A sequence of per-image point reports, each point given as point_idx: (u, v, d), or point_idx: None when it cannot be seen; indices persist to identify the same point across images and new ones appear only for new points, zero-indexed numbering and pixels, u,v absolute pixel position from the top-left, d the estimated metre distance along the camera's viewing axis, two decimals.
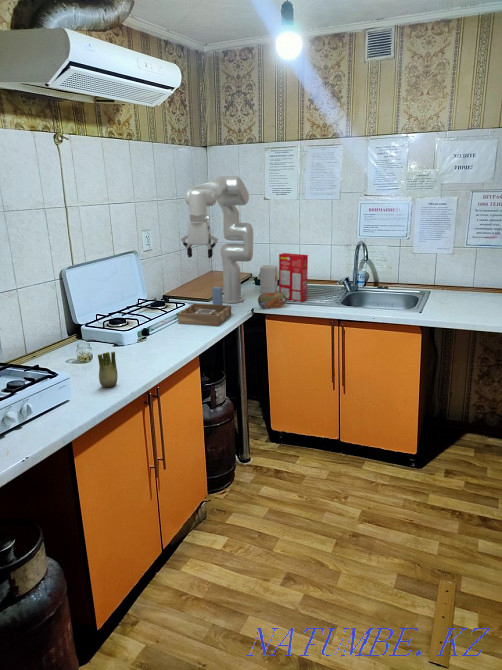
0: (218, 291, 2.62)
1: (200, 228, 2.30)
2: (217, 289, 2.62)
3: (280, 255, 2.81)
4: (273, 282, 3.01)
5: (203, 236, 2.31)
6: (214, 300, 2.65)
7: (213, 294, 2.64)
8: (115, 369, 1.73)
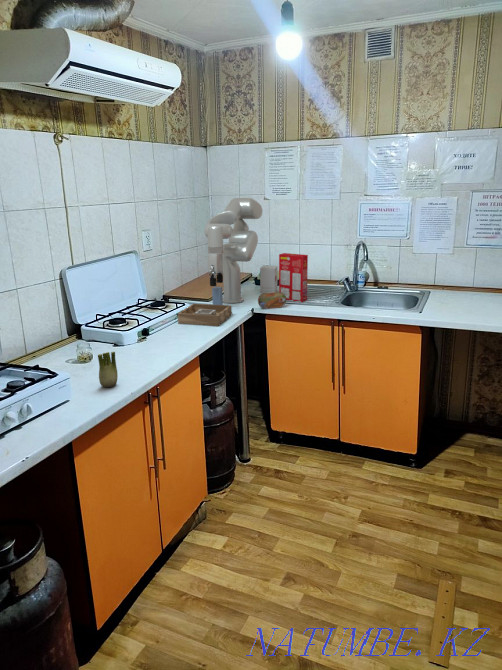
0: (218, 291, 2.62)
1: (221, 257, 2.60)
2: (217, 289, 2.62)
3: (280, 255, 2.81)
4: (273, 282, 3.01)
5: (222, 264, 2.63)
6: (214, 300, 2.65)
7: (213, 294, 2.64)
8: (115, 369, 1.73)
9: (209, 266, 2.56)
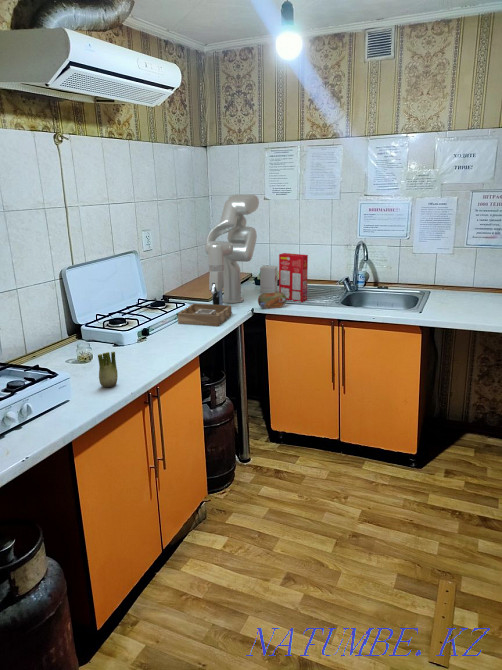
0: None
1: (222, 275, 2.63)
2: None
3: (280, 255, 2.81)
4: (273, 282, 3.01)
5: (223, 281, 2.66)
6: None
7: None
8: (115, 369, 1.73)
9: (210, 284, 2.59)
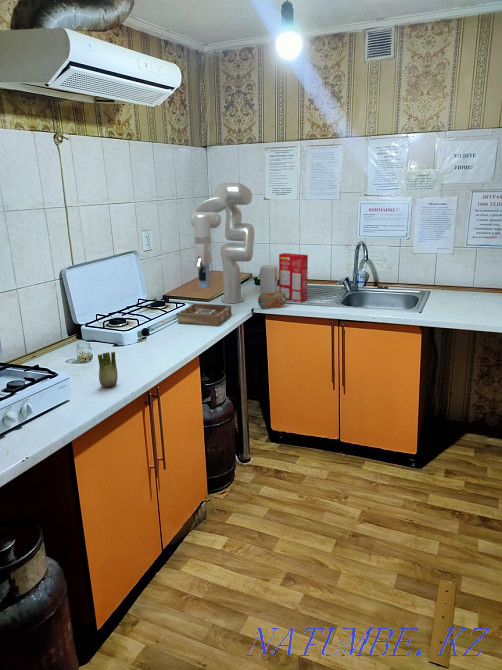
0: None
1: (209, 248, 2.43)
2: None
3: (280, 255, 2.81)
4: (273, 282, 3.01)
5: (210, 255, 2.45)
6: None
7: None
8: (115, 369, 1.73)
9: (196, 258, 2.39)
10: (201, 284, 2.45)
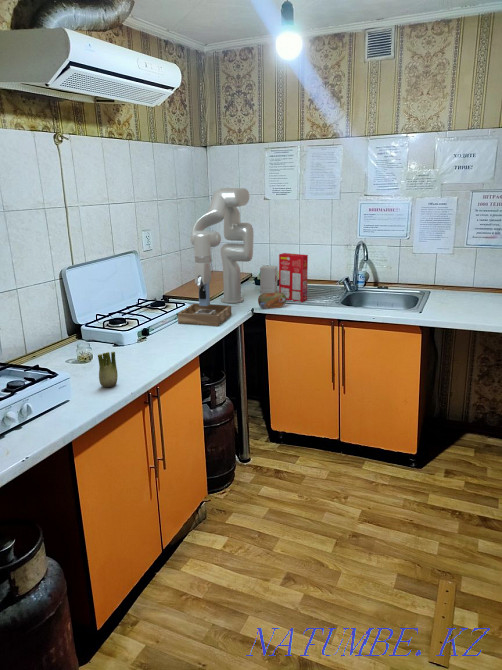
0: None
1: (209, 267, 2.45)
2: None
3: (280, 255, 2.81)
4: (273, 282, 3.01)
5: (210, 274, 2.47)
6: None
7: None
8: (115, 369, 1.73)
9: (196, 276, 2.41)
10: (201, 302, 2.47)
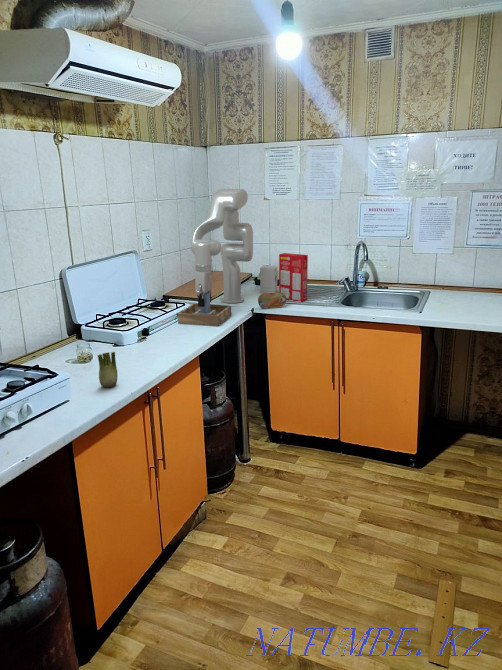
0: (205, 297, 2.46)
1: (209, 276, 2.46)
2: (204, 295, 2.46)
3: (280, 255, 2.81)
4: (273, 282, 3.01)
5: (210, 282, 2.48)
6: (201, 307, 2.48)
7: None
8: (115, 369, 1.73)
9: (196, 285, 2.42)
10: None
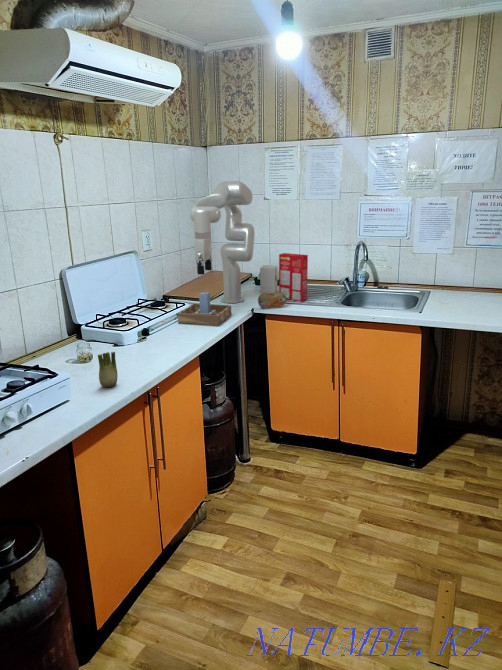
0: (205, 297, 2.46)
1: (209, 243, 2.43)
2: (204, 295, 2.46)
3: (280, 255, 2.81)
4: (273, 282, 3.01)
5: (210, 250, 2.45)
6: (201, 307, 2.48)
7: (200, 300, 2.47)
8: (115, 369, 1.73)
9: (196, 253, 2.39)
10: None
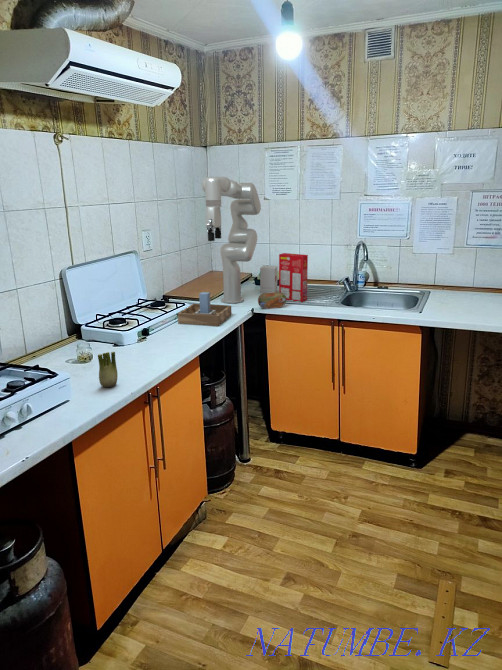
0: (205, 297, 2.46)
1: (219, 211, 2.53)
2: (204, 295, 2.46)
3: (280, 255, 2.81)
4: (273, 282, 3.01)
5: (220, 219, 2.55)
6: (201, 307, 2.48)
7: (200, 300, 2.47)
8: (115, 369, 1.73)
9: (207, 220, 2.49)
10: None
